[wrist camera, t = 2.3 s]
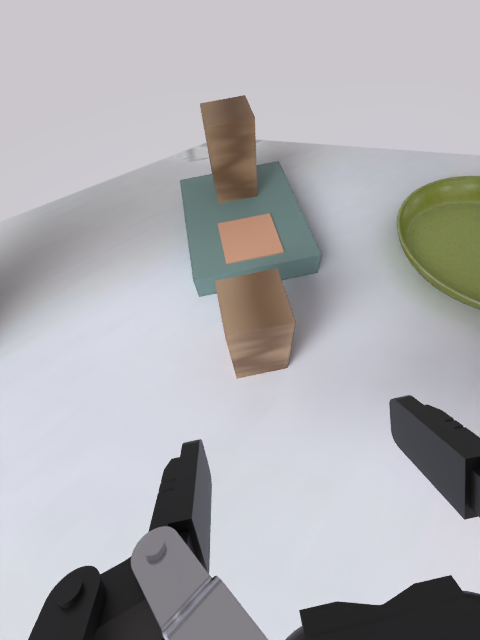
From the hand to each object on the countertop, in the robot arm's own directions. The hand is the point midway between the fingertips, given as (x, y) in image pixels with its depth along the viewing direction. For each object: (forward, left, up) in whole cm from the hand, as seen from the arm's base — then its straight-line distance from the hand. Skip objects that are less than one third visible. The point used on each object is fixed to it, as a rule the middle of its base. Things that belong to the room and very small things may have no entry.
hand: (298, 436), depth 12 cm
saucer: (+28, +16, -14) cm, 35 cm away
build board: (+2, +27, -14) cm, 30 cm away
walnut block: (0, +10, -14) cm, 17 cm away
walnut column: (+2, +32, -11) cm, 34 cm away
